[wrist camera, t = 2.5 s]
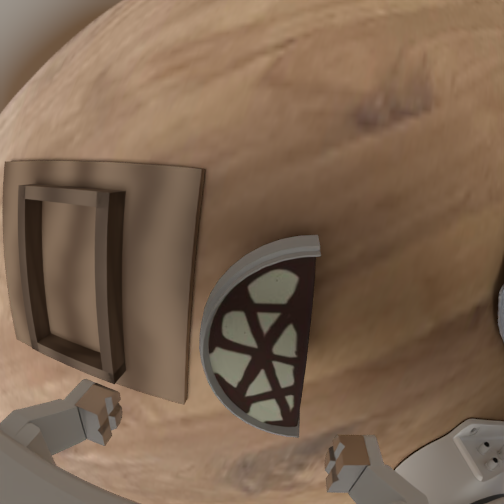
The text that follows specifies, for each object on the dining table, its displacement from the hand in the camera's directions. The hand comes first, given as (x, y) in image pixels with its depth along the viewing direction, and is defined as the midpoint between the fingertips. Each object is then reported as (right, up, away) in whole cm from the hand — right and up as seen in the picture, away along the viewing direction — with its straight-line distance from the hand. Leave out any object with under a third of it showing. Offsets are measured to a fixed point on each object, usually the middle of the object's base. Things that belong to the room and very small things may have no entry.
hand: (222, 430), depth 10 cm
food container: (+2, +3, +15) cm, 16 cm away
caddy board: (-16, +4, +17) cm, 24 cm away
